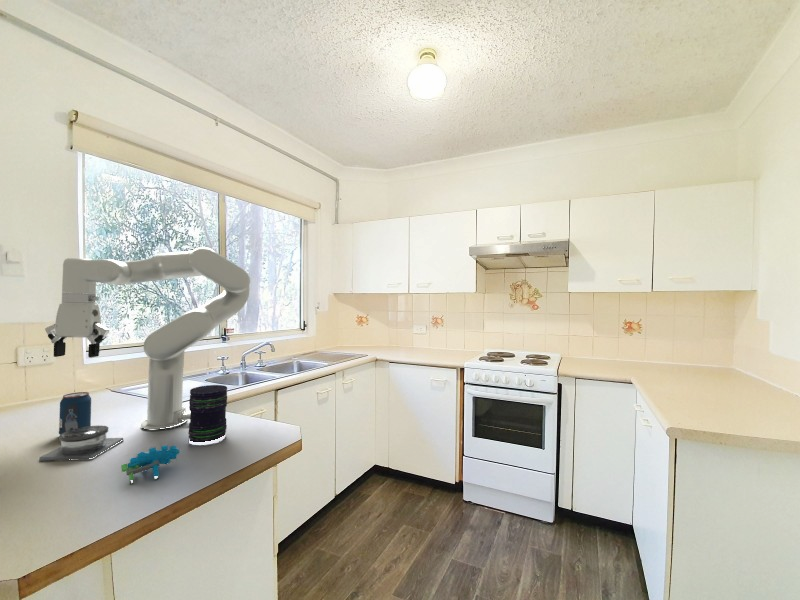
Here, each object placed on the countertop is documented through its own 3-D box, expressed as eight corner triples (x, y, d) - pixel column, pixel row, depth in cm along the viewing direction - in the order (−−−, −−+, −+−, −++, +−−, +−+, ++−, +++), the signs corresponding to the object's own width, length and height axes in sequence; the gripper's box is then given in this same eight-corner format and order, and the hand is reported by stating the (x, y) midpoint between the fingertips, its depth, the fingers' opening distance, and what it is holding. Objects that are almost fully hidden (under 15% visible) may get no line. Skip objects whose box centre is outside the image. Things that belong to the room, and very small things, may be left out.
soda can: (85, 428, 110) (86, 390, 110) (94, 433, 107) (95, 393, 107) (55, 435, 104) (56, 395, 104) (63, 441, 101) (65, 398, 101)
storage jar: (209, 448, 98) (211, 394, 98) (179, 444, 100) (181, 391, 100) (233, 435, 108) (234, 386, 108) (205, 432, 110) (206, 383, 110)
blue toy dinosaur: (179, 455, 89) (177, 437, 83) (183, 478, 86) (181, 461, 80) (125, 472, 83) (118, 454, 77) (126, 497, 80) (119, 481, 74)
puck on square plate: (123, 441, 101) (123, 423, 101) (91, 459, 89) (92, 440, 89) (77, 442, 100) (77, 424, 100) (39, 461, 88) (39, 441, 88)
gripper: (118, 300, 111) (116, 355, 110) (59, 298, 109) (57, 354, 109) (99, 300, 103) (97, 359, 103) (36, 298, 102) (33, 357, 102)
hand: (76, 356), depth 106 cm, fingers open, 9 cm apart
